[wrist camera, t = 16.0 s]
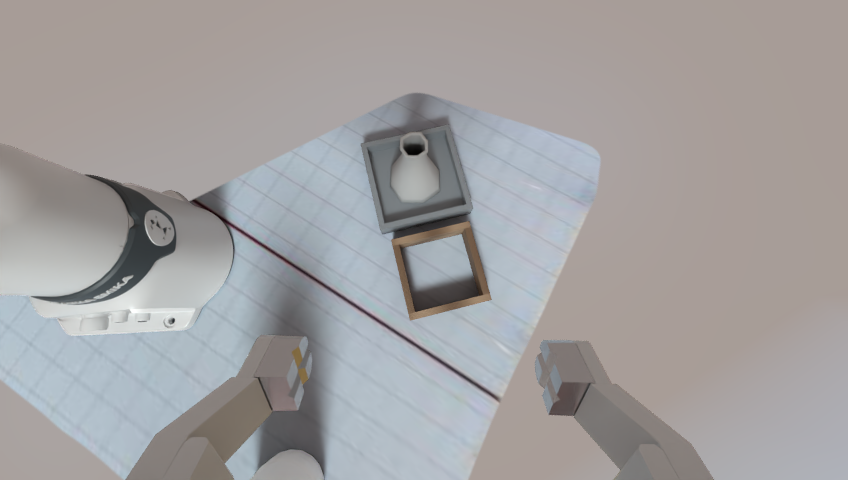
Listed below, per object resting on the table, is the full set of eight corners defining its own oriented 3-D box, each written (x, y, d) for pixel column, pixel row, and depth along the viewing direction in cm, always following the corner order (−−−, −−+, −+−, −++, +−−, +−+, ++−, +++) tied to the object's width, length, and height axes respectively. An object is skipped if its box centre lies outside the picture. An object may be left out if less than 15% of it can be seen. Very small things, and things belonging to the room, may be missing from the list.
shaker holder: (410, 319, 42) (410, 320, 39) (393, 244, 44) (391, 239, 41) (486, 300, 43) (491, 299, 40) (465, 226, 45) (469, 221, 42)
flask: (382, 163, 46) (372, 124, 36) (432, 149, 46) (435, 107, 36) (397, 211, 44) (391, 183, 34) (448, 196, 45) (456, 165, 35)
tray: (382, 234, 44) (380, 229, 42) (363, 152, 47) (360, 143, 44) (470, 213, 45) (473, 207, 43) (447, 133, 48) (448, 124, 45)
